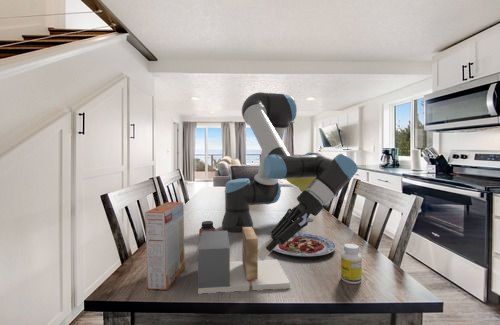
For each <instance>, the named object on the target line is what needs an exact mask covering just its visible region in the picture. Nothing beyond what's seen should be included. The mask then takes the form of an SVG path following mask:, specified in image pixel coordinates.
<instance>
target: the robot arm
mask: <svg viewBox="0 0 500 325" xmlns="http://www.w3.org/2000/svg"><path fill="white" fill-rule="evenodd" d="M241 106H242V107H241V115H242V118H243V120H244V122H245V123H246V125H248V126H249V127H250V130H251V131H252V133H253V135H254V137H255V138H256V141H257V144H259V145H258V146H259V147H260V149H261V152H260V153H261V154H260V160H259V164H258V170H257V171H258V173H256V174H255V175H254V179H253V180H251V181H250V178H245V177H244V178H236V179H231V180H228V181H226V183H225V188H224V194H225V196H224V197H225V198H224V201H225V202H224V203H225V205H224V206H225V207H224V209H225V212H224V215H223V219H222V221H221V229H222V231H228V232H231V233H232V232H233V233H242V227H252V228H253V229H254V221H253V219H252V216H251V212H250V206H256V205H271V204H272V205H273V204H275V203H277V202H278V201H279V200H280V197H281V194H282V193H281V192H282V190H281V184H280V182H279V180H287V178H313V177H314V178H315V179H314V180H313V181H312V182H311V183H310V184H309V185H308V186H307V187H306V190H305V191H303V192H301V193H300V194H299V195H298V196H297V197H296V201H297V202H298V204H297V205H295V206H294V207H292V208H290V207H289V208H288V209H287V210H286V212H285V214H284V215H283V217H282V218H281V219H280V220H279V221H278V223H276V225H275V226H274V227H273V229H272V230H271V232H270V233H271V234H270V236H269V238H268V239H266V241H265V242H264V243H262V245H261V246H260V247H258V248H259V249H258V258H259V259H260V260H262V261H263V260H266V258H267V257H268V256H269V255H270V254H271V253H272V252H273V251H274V250H273V249H274V248H275V247H276V246H277V245H278V244H281V245H283V244H284V243H286V242H287V241H288V240H289V239H290V238H291V237H292V236H294V235H295V234H296V233H299V231H301V229H304V228H305V227H307V226H308V224H309V222H306V220H307V218H308V217H309V218H310V216H311V215H312V216H314V217H316V216H317V215H319V213H320V212H321V211H322V210H323V208H324V206H327V205H328V204H329V202H330V203H331V202H332V201H333V198H334V197H335V196H336V195H338V193H339V192H340V191H341V190H342V189H343V188H344V187H345V186H346V185H347V184H348V183H349V182H350V181H351V180H352V178H353V177H354V176H355V175H356V174H357V172H358V169H359V167H358V165H357V163H356V162H355V161H354V160H353V159H352V158H351V157H349V155H346V154H344V153H339V154H336V156H335V157H334V158H330V157H327V156H325V155H322V154H320V153H319V152H313V151H312V152H307V153H305V154H290V152H289V150H288V148H287V147H286V145H285V144H284V142H283V138H284V134H285V130H286V129H288V128H289V125H290V123H292V122H294V121H295V119H296V116H297V113H298V112H297V110H298V108H297V104H296V101H295V99H294V97H293V96H291V95H289V94H285V93H277V92H275V93H274V92H273V93H272V92H263V91H262V92H260V91H259V92H255V93H252V94H250V95H249V96H247V98H245V100H244V101H243V103H242V105H241Z"/></svg>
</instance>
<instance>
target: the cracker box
mask: <svg viewBox="0 0 500 325" xmlns="http://www.w3.org/2000/svg"><path fill="white" fill-rule="evenodd" d="M184 210H185V209H184V202H181V201H180V202H179V201H177V202H175V201H167V202H164V203H163V204H160V205H157V206H156V207H154V208H151V209H150V210H147V211H145V213H144V219H145V221H144V222H145V247H146V249H145V250H146V277H147V278H146V282H147V283H146V284H147V290H155V289H159V290H160V291H168V290H169V289H170V287H171V285H173V284H174V282H175V281H176V279H177V278H178V277H179V276H180V275H181V273H182V272H183V271H184V269H185V268H186V264H185V263H186V262H185V261H186V260H185V220H184V219H185V217H184V216H185V215H184ZM159 290H158V291H159Z"/></svg>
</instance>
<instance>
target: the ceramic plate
mask: <svg viewBox="0 0 500 325" xmlns="http://www.w3.org/2000/svg"><path fill="white" fill-rule="evenodd" d="M336 247H337V245H336V243H335V242H334V241H333V240H331V239H329V238H327V237H324V236H321V235H318V234H313V233H306V232H297V233H296V234H295V235H294V236H292V237H291V238H290V239H289V240H288V241H287V242H286V243H284V244H283V245H281V244H278V245H277V246H276V247H275V248H274V249H273V250H272V251H274V252H275V253H276V252H277V253H280V254H284V255H287V256H292V257H303V258H304V257H318V256H324V255H329V254H331V253H332V252H335V250H336Z"/></svg>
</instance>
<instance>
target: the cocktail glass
mask: <svg viewBox="0 0 500 325" xmlns="http://www.w3.org/2000/svg"><path fill="white" fill-rule="evenodd" d="M314 179H315V178H314V177H313V178H287V179H286V180H287V182H288V183H289V184H291V185H292V186H295V187H296V188H298V190H300V192H301V193H302V192H303V191H305V190H306V187H307V186H308V185H309V184H310V183H311V182H312V181H313V180H314ZM306 222H307V223H310V222H314V218H312V217H310V216H309V217H308V218H307V220H306Z"/></svg>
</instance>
